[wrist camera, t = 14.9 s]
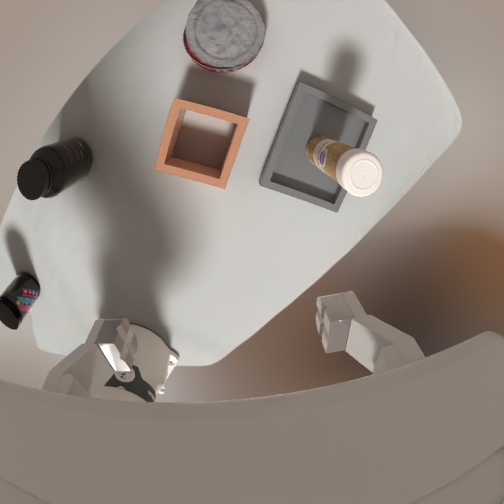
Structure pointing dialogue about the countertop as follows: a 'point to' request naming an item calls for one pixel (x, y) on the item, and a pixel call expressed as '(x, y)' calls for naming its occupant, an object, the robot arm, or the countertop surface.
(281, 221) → the countertop surface
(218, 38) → the canned food
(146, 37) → the countertop surface
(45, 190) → the supplement bottle
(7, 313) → the supplement container
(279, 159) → the charcoal tray
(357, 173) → the sprinkles bottle
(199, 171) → the terracotta holder
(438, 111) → the countertop surface
